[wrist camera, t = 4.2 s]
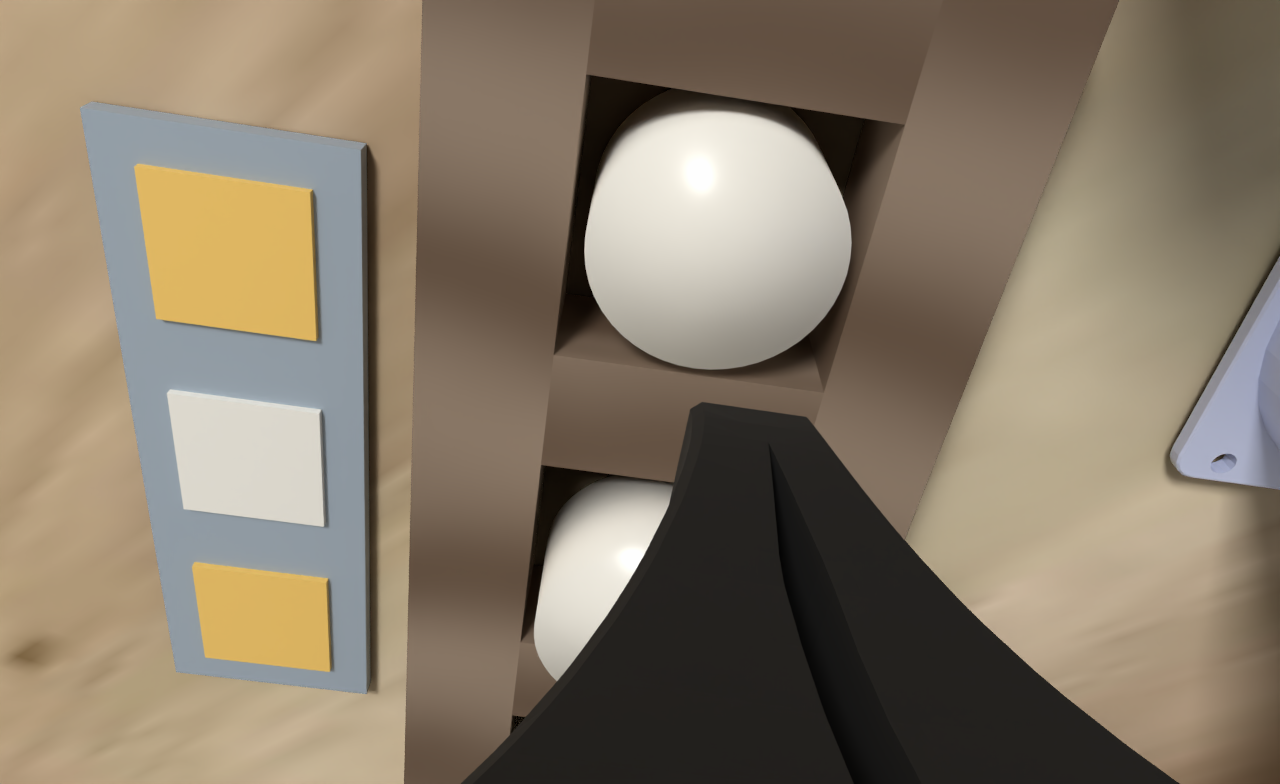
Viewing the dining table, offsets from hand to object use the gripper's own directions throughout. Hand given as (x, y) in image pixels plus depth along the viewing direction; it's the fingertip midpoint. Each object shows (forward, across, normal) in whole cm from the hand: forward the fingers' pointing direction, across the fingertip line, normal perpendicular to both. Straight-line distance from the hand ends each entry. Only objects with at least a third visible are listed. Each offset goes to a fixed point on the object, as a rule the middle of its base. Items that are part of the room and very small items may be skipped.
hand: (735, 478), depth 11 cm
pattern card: (+8, +9, +7) cm, 14 cm away
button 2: (+7, 0, +7) cm, 10 cm away
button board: (+8, 0, +7) cm, 11 cm away
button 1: (+8, 0, 0) cm, 8 cm away
